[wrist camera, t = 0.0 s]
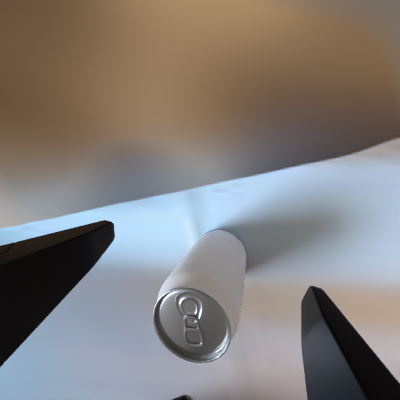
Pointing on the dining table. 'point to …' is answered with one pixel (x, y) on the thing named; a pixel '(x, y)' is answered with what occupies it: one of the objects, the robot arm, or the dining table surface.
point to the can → (202, 299)
